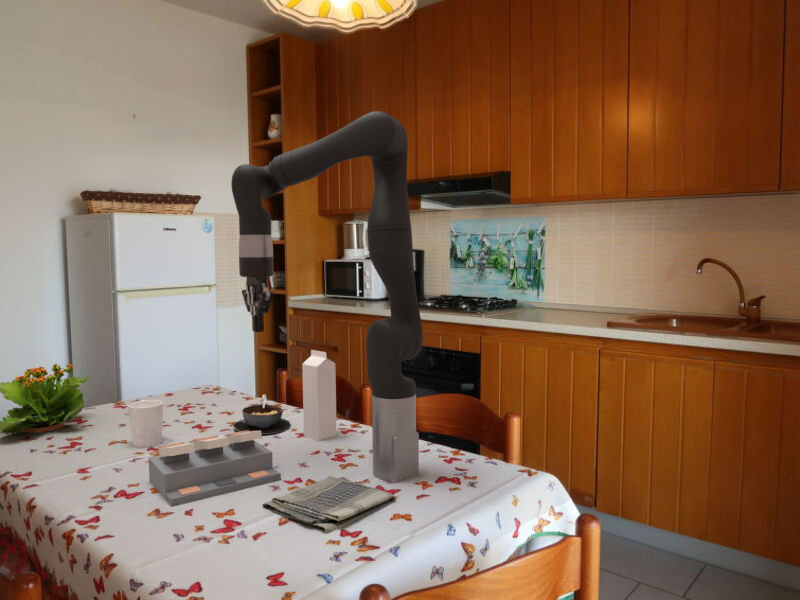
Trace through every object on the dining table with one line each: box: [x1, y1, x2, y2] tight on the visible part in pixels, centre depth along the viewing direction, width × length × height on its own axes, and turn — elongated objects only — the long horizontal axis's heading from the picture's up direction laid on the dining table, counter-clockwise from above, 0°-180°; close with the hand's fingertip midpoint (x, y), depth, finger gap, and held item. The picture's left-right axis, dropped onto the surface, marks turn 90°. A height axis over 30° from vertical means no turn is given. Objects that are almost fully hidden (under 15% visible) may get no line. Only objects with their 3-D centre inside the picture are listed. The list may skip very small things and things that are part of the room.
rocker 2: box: [192, 435, 230, 449], centre depth 128 cm, size 10×4×2 cm, turn 36°
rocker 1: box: [158, 441, 195, 456], centre depth 124 cm, size 10×4×2 cm, turn 36°
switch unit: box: [148, 440, 282, 507], centre depth 126 cm, size 16×22×6 cm
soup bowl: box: [232, 393, 291, 436], centre depth 164 cm, size 15×16×7 cm
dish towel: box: [262, 475, 397, 535], centre depth 114 cm, size 19×18×3 cm
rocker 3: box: [224, 430, 263, 443], centre depth 132 cm, size 10×4×2 cm, turn 36°
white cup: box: [128, 399, 164, 448], centre depth 152 cm, size 8×8×10 cm
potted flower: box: [0, 363, 90, 435], centre depth 166 cm, size 25×24×18 cm
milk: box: [301, 349, 337, 441], centre depth 156 cm, size 6×6×22 cm
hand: (258, 331), depth 140 cm, fingers closed
